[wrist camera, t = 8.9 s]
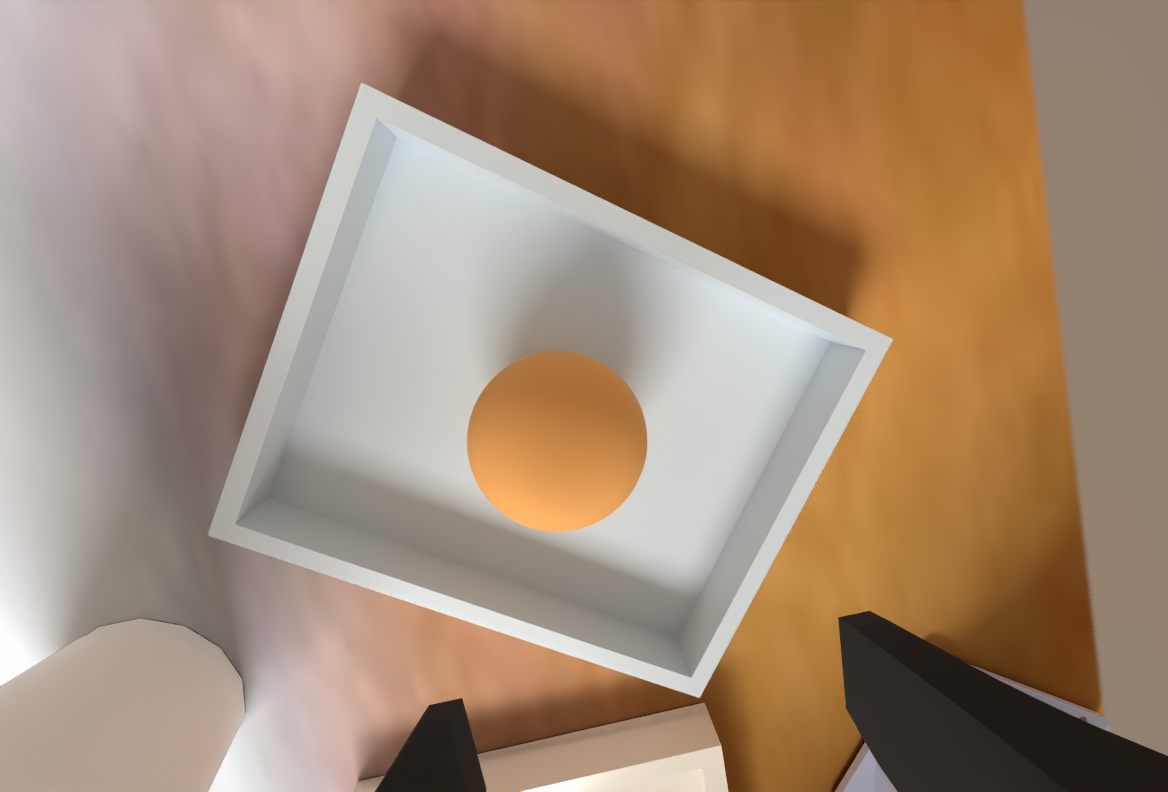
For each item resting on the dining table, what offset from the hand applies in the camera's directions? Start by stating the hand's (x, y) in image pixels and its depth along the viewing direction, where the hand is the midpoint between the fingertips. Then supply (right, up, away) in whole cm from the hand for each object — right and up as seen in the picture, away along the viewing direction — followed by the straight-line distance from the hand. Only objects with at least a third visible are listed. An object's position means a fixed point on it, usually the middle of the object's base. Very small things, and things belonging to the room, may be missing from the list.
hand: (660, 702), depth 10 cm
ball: (-2, +4, +5) cm, 7 cm away
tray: (-2, +5, +8) cm, 10 cm away
